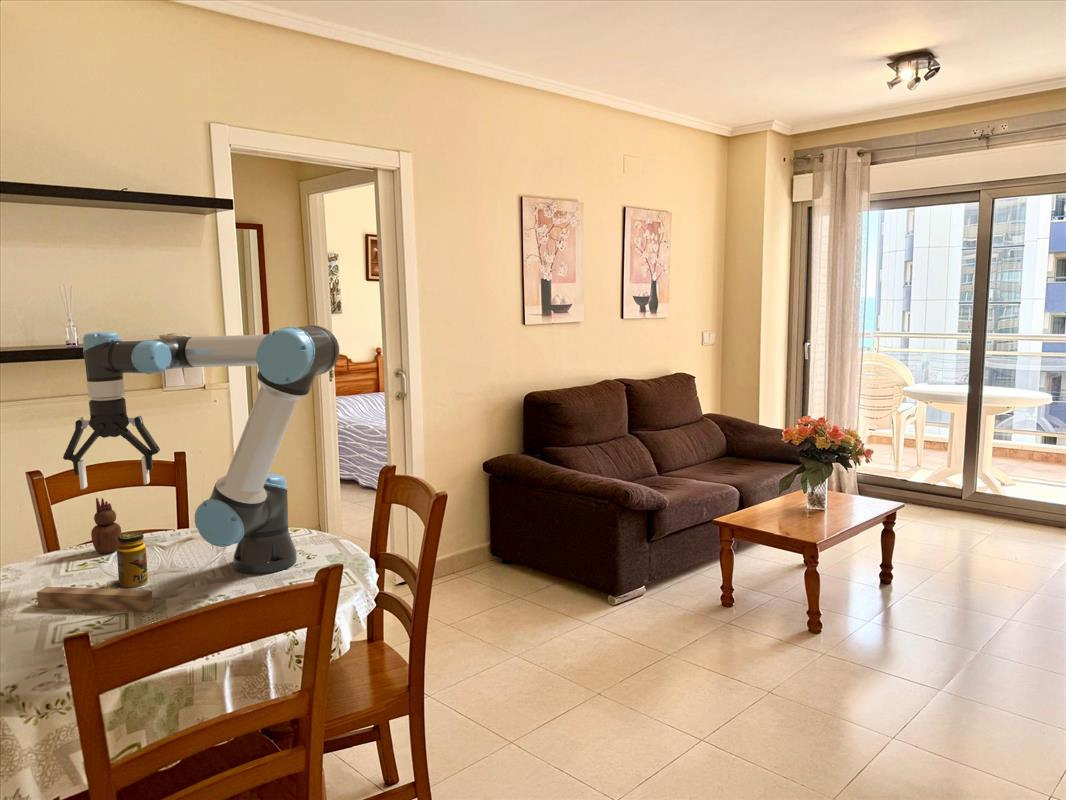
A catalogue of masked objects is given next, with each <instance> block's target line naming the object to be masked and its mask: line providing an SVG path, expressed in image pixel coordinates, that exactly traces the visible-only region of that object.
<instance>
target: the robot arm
mask: <svg viewBox="0 0 1066 800" xmlns="http://www.w3.org/2000/svg"><path fill="white" fill-rule="evenodd" d="M82 343H83V344H82V347H83V348H82V353H83V359H84V365H85V366H84V367H85V372H86V373H85V374H86V387H87V395H88V396H87V397H88V398H89V399H90V400H89V401H88V406H89V416H90V418H89V419H83V418H80V419H78V420H76V421H75V423H74V424H75V426H74V429H75V430H74V431H73V434H72V436H71V438H70V440H69V443H68V445H67V447H66V449H65V452H64V453H63V457H62V458H63V460H65V461H70V462H72V465H73V474H74V475H75V476H78V478H79V479H78V480H79V487H80V490H85V489H86V488H87V487H88V478H87V469H86V468H87V467H86V460H85V459H82V457H84V455H85V454H86V453H87V451H88V450H89V449H90V448H91V446H93V444H94V443H95V442H96V441H97V439H98V438H99V437H100V438H103V439H105V438H109V437H111V438H117V437H122V438H123V439H125V440H126V441H128V442H129V444H131V445H132V446H133V447H134V448H135V449H136V450H137V451H138V452H140V453H141V454H142V455H143V456H142V457H141V468H142V479H143V485H148V484H149V483H150V482H151V480H150V471H151V470H152V469H153V467H154V464H153V463H154V462H153V455H156V454H158V453H159V452H160V451H161V448H160V447H159V445H158V443H157V442H156V441H155V440H154V438H153V436H152V435H151V434H150V432H149V430H148V429H147V427H146V426H145V424H144V421H143V420H144V419H143V417H142V416H141V415H137V416H134V417H129V415H127V414H128V413H127V405H126V403H127V402H126V398H125V397H124V396H125V382H124V374H125V373H126V374H146V375H152V374H161V373H164V372H165V371H166V370H170V369H171V370H172V369H178V368H180V369H181V368H207V367H208V368H211V367H213V368H214V367H216V368H217V367H257V369H258V371H257V374H256V380H257V381H258V382H259V384H260V386H259V390H258V391H257V395H256V397H255V400H254V402H253V405H252V407H251V410H250V413H249V416H248V417H247V420H246V423H245V426H244V428H243V431H242V434H241V436H240V439H239V441H238V443H237V445H236V446H237V447H236V449H235V451H234V454H233V457H232V459H231V463H230V464H229V467H228V470H227V472H226V475H224V476H222V477H219V478H217V480H216V482H215V484H214V487H213V488H212V489H213V490H212V492H211V494H210V497H209V498H208V499H205V500H202V503H200V504H199V505H198V506H197V508H196V509H195V513H194V524H195V528H196V529H197V530H198V533H199V535H200V536H201V538H202V539H203V540H205V542H207V543H208V544H209V545H212V546H215V547H219V548H225V547H230V546H232V545H235V544H237V545H236V547H235V551H234V553H233V559H232V560H233V561H232V562H233V563H232V564H233V568H234V570H235V571H237V572H241V573H244V574H255V575H256V574H258V575H260V574H268V573H274V572H280V571H282V570H286V569H288V568H290V567H291V566H293V565H295V564H296V562H297V549H296V548H295V547H296V546H295V544H294V543H293V539H292V537H291V535H290V532H289V510H288V509H289V507H288V506H289V505H288V490H289V489H288V487H287V479H286V477H285V476H284V475H281V474H277V473H270V472H271V469H272V466H273V464H274V461H275V459H276V456H277V454H278V452H279V449H280V447H281V444H282V442H283V439H284V437H285V434H286V432H287V429H288V426H289V425H290V421H291V420H292V419H291V418H292V417H293V414H294V411H295V409H296V406H297V404H298V401H299V399H301V398H304V397H307V396H308V394H309V393H310V390H311V388H312V385H313V383H314V381H315V378H316V376H320V375H323V374H326V373H327V372H329V371H331V370H332V369H333V368H334V366H335V365H336V364H337V363H338V360H339V357H340V345H339V342H338V339H337V338H336V337H335V335H334V334H333V332H331V331H330V330H329V329H327V328H325V327H323V326H320V325H314V324H313V325H305V326H296V327H295V326H286V327H282V328H279V329H276V330H273V331H271V332H269V333H267V334H242V335H241V334H240V335H239V334H237V335H213V336H212V335H209V336H208V335H206V336H205V335H202V336H188V335H186V336H185V335H179V336H175V337H165V338H155V339H145V340H121V339H120V334H119V333H118V332H115V331H111V332H110V331H104V332H103V331H102V332H100V331H99V332H97V331H96V332H88V333H86V334H84V335H83V337H82ZM129 424H132V426H133V427H135V429H136V430H137V432H138V433H139V435H140V437H142V439H143V441H144V442H145V443H146V445H145V444H144V443H143V442H142V441H141V440H139V438H138V437H136V436H135V435H134V434H133V433H132V432H131V430H130V429H129V428H128V426H129ZM88 426H89V427H90V428H91V429H92V430H93V431H92V433H91V435H90V436H89V438H87V439H86V441H85V442H84V444H83V445H82V446H81V447H80V448H79V450H78V451H77V452H76V453H75V450H76V449H77V447H78V444H79V442H80V440H81V437H82V435H83V432H84V430H85V429H87V427H88ZM147 446H148V447H147ZM74 453H75V454H74Z"/></svg>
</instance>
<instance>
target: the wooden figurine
mask: <svg viewBox="0 0 1066 800" xmlns="http://www.w3.org/2000/svg"><path fill="white" fill-rule="evenodd" d="M100 502H101V503H100ZM95 507H96V513H95V514H94V515H93V516H94V517H93V520H94V523H95V524H96V525H95V526H93V528H92V529H91V532H90V535H91V536H90V537H91V543H92V545H93V548H94V550H95V551H96V552H97V554H111V553H114V552H117V548H118V537H119V536H120V535H122V527H121V525H120V524H119V523H117V522H116V521H117V514H116V511H115V510H114V509H113V506H112V504H111V503H110V502H108V501H104V498H101V501H99V498H98V497H96V498H95Z"/></svg>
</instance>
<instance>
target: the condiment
mask: <svg viewBox="0 0 1066 800" xmlns="http://www.w3.org/2000/svg"><path fill="white" fill-rule="evenodd" d="M144 542H145V540H144V534H143V532H140V531H139V532H138V531H132V532H131V531H130V532H129V531H128V532H124V533H121V535H120V536H119V537H118V548H117V550H116V560H117V574H118V579H115V580H109V581H108V580H107V585H108V589H122V590H136V589H140V588H146V587H150V586H152V583H151V580H150V578H149V575H148V573H149V572H148V560H147V547H146V546H147V545H146V544H145V543H144Z"/></svg>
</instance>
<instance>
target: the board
mask: <svg viewBox="0 0 1066 800" xmlns="http://www.w3.org/2000/svg"><path fill="white" fill-rule="evenodd" d="M36 597H37V598H36V599H37V608H49V609H67V610H68V609H69V610H71V609H74V610H91V611H92V610H93V611H94V610H96V611H99V610H100V611H120V612H121V611H122V612H123V611H124V612H145V613H146V612H147V611H149V610H150V609H151V608H152V607H153V606H154V601H153V598H154V597H153V590H145V589H141V590H140V589H128V590H122V588H121V589H109V588H91V587H88V588H87V587H84V588H83V587H67V586H66V587H65V586H44V587H43V588H42V589H40V590H38V591H36Z"/></svg>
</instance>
